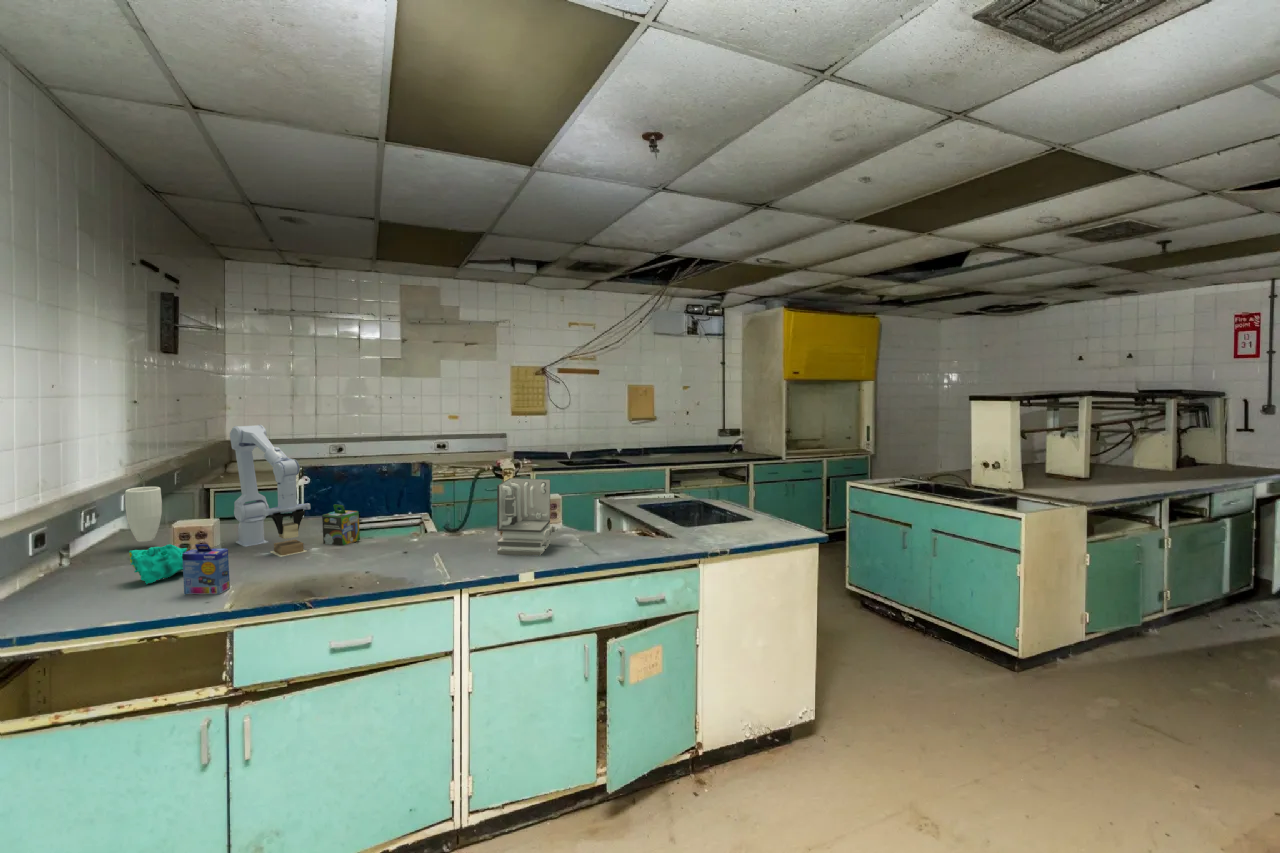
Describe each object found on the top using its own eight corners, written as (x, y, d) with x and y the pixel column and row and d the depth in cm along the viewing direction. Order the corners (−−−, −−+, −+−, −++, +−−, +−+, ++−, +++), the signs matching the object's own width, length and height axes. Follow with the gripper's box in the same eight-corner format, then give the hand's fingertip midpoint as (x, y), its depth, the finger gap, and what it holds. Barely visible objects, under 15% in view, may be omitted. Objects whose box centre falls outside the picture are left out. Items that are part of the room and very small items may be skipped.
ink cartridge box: (182, 595, 170) (180, 545, 169) (195, 588, 175) (193, 540, 174) (219, 595, 171) (217, 545, 170) (230, 588, 176) (228, 540, 175)
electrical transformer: (509, 542, 230) (509, 478, 228) (558, 544, 229) (559, 479, 227) (497, 554, 215) (497, 485, 213) (550, 556, 213) (550, 486, 211)
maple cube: (279, 536, 211) (278, 524, 211) (292, 534, 215) (292, 522, 214) (284, 539, 208) (284, 526, 208) (298, 536, 212) (298, 524, 212)
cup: (169, 543, 221) (166, 485, 220) (157, 551, 212) (154, 490, 210) (135, 545, 218) (132, 486, 216) (121, 553, 208) (117, 492, 207)
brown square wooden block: (274, 551, 212) (273, 543, 211) (295, 547, 217) (295, 539, 217) (282, 555, 207) (281, 547, 207) (303, 551, 213) (303, 542, 212)
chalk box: (360, 540, 229) (359, 502, 228) (342, 547, 220) (341, 507, 219) (340, 538, 232) (339, 500, 230) (322, 544, 223) (321, 505, 222)
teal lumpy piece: (142, 551, 188) (185, 529, 192) (160, 584, 189) (203, 562, 192) (112, 555, 174) (160, 533, 177) (132, 592, 174) (179, 568, 177)
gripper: (268, 498, 202) (270, 538, 203) (313, 492, 214) (314, 530, 215) (260, 496, 207) (262, 534, 208) (305, 490, 218) (306, 527, 219)
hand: (288, 532), depth 211 cm, fingers closed on maple cube, 4 cm apart
